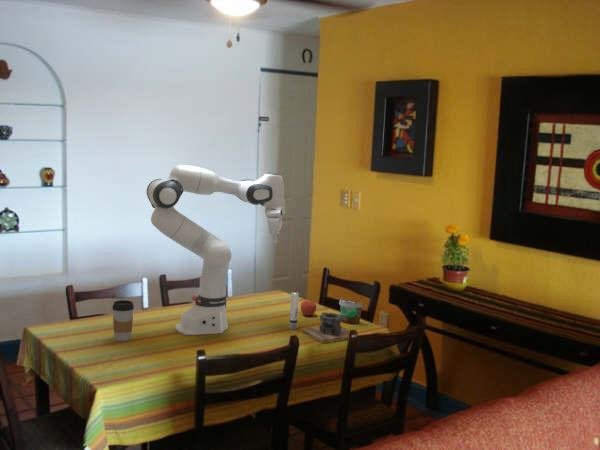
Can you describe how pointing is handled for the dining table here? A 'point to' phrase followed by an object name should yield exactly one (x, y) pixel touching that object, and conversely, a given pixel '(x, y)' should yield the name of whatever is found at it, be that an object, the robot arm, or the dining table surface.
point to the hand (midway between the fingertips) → (276, 240)
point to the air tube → (294, 310)
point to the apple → (308, 307)
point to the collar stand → (328, 329)
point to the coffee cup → (122, 319)
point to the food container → (350, 311)
